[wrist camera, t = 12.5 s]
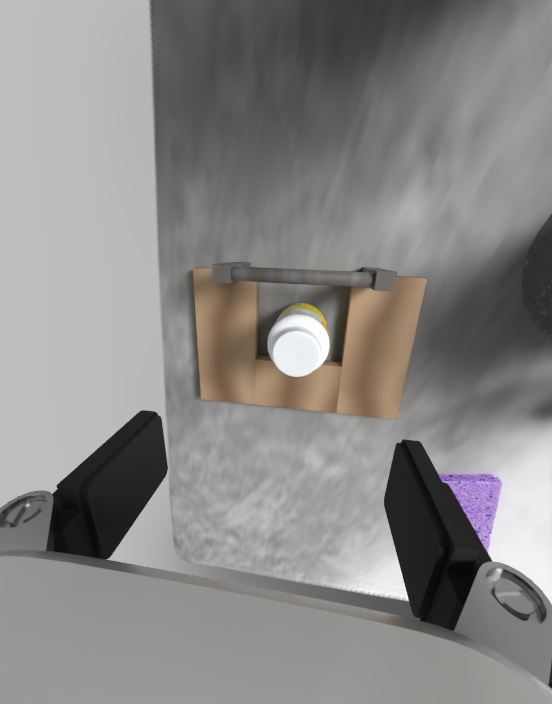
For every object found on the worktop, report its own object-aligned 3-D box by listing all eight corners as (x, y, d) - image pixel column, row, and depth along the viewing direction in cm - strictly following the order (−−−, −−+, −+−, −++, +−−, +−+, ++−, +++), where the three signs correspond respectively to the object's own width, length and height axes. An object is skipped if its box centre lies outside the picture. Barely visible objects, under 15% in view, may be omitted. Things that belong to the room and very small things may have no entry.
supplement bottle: (311, 356, 33) (309, 397, 23) (270, 334, 33) (250, 366, 23) (336, 315, 31) (344, 342, 21) (292, 291, 31) (281, 308, 21)
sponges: (427, 539, 40) (432, 552, 38) (434, 470, 36) (440, 481, 34) (481, 542, 39) (488, 556, 37) (494, 471, 35) (503, 483, 33)
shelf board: (423, 269, 28) (458, 274, 21) (393, 412, 34) (413, 453, 27) (197, 260, 31) (162, 262, 24) (205, 393, 37) (179, 426, 30)
